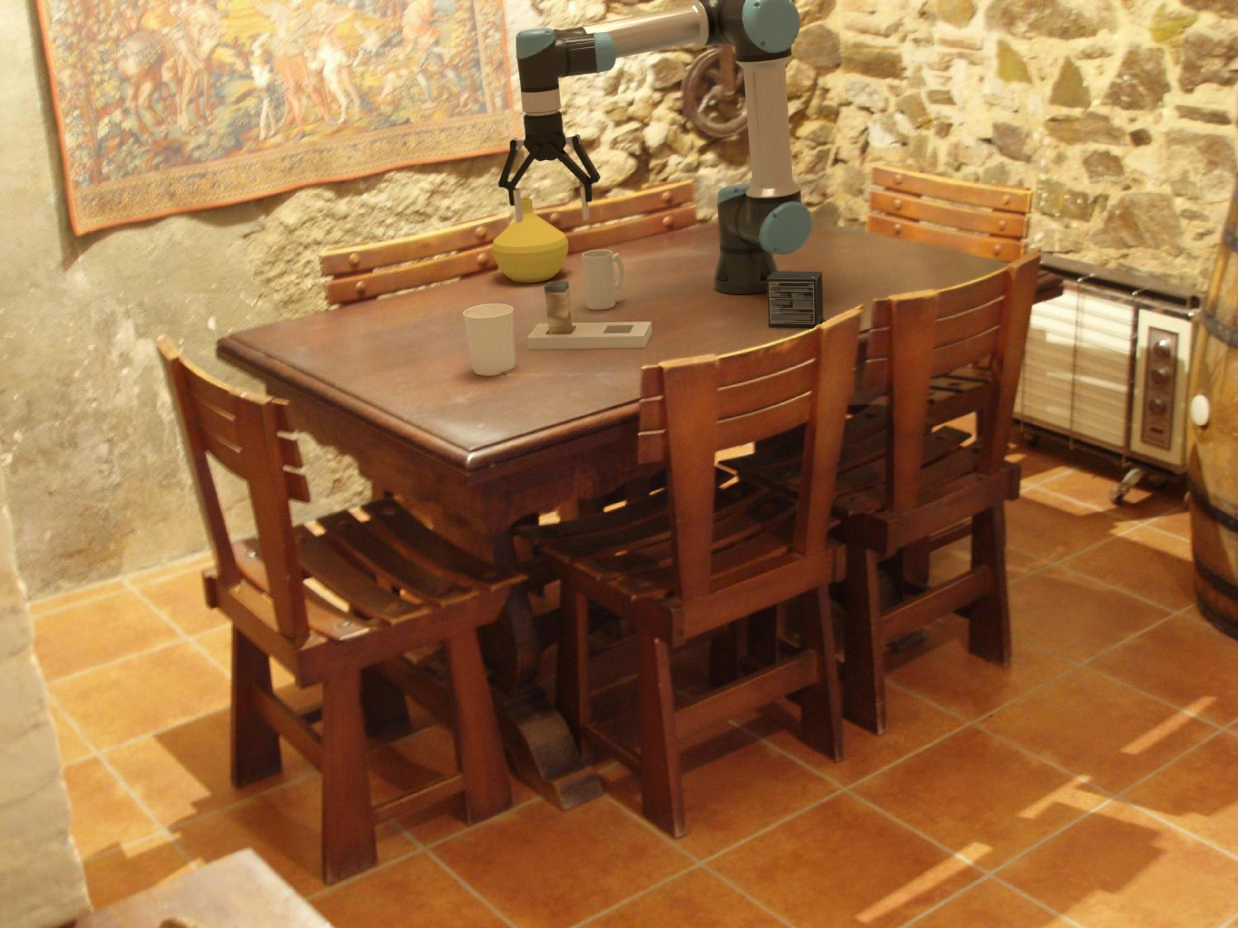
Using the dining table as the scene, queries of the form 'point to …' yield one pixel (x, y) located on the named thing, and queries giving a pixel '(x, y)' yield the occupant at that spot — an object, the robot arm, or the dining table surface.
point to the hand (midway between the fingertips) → (553, 220)
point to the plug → (558, 307)
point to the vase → (530, 248)
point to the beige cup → (490, 338)
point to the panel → (592, 336)
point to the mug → (601, 278)
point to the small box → (795, 299)
